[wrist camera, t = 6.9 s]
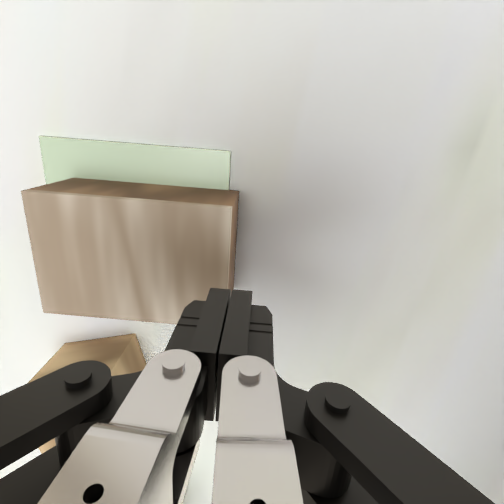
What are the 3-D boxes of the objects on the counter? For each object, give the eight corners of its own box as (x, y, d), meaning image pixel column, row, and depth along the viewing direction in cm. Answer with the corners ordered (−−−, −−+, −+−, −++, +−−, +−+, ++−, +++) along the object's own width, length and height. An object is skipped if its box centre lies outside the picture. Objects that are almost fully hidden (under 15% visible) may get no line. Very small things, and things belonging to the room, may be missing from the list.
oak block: (135, 332, 21) (98, 390, 17) (157, 391, 23) (129, 458, 18) (65, 342, 22) (11, 400, 17) (91, 399, 24) (48, 465, 19)
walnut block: (231, 208, 14) (21, 191, 14) (225, 328, 16) (43, 312, 16) (239, 191, 17) (73, 177, 18) (233, 290, 20) (85, 277, 20)
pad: (230, 151, 17) (230, 151, 17) (223, 316, 20) (222, 317, 20) (41, 136, 17) (38, 136, 17) (66, 302, 21) (64, 304, 20)
